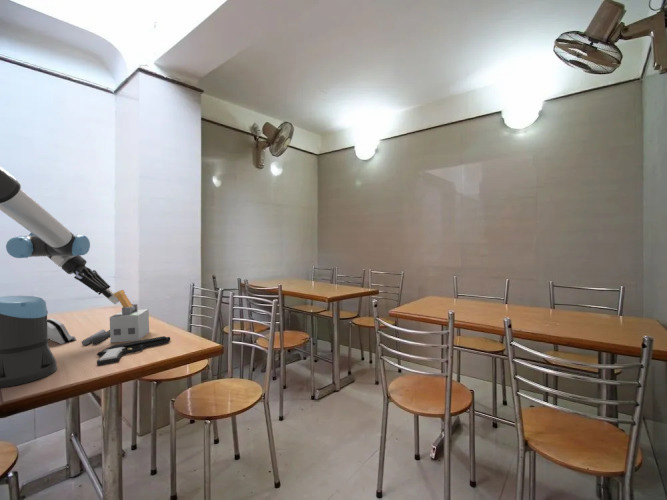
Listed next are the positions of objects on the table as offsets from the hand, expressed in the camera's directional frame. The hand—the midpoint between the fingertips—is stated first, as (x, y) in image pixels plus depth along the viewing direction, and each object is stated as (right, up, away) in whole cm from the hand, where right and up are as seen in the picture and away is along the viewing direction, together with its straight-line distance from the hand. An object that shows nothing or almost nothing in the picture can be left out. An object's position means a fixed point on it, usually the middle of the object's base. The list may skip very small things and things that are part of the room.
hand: (118, 301), depth 128 cm
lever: (+5, -4, +1) cm, 7 cm away
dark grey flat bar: (-7, -15, -2) cm, 17 cm away
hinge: (-24, -16, -1) cm, 29 cm away
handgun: (+18, -16, -17) cm, 29 cm away
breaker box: (+5, -15, +1) cm, 15 cm away
